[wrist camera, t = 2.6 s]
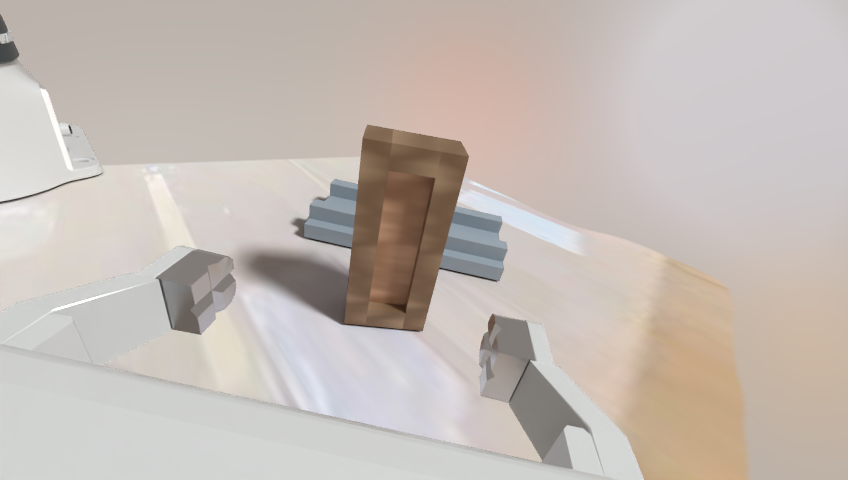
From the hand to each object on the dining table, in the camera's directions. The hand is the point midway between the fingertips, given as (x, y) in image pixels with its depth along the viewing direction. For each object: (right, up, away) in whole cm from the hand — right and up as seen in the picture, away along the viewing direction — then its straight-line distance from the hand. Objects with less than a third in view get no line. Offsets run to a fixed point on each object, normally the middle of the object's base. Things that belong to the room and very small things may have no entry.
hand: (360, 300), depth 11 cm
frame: (-1, -4, +17) cm, 17 cm away
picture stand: (0, +2, +28) cm, 28 cm away
